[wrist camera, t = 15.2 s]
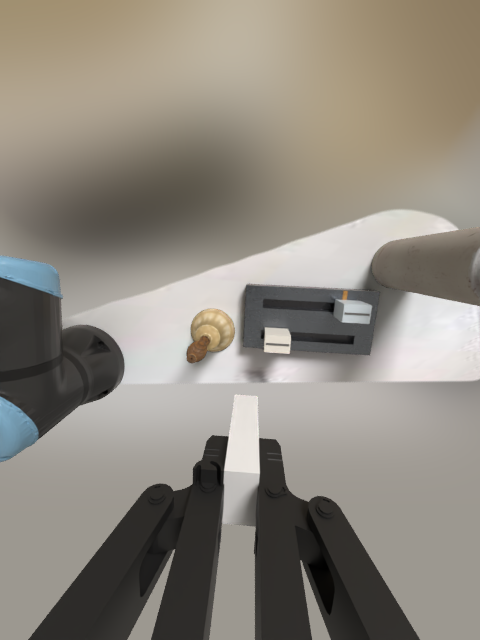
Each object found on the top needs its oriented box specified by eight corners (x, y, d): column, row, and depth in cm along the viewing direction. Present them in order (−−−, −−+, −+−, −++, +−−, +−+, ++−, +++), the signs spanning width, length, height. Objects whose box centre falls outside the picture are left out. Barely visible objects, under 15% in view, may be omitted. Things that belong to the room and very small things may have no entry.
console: (244, 342, 50) (243, 347, 48) (247, 283, 48) (246, 285, 45) (364, 350, 49) (370, 355, 46) (373, 290, 46) (380, 291, 44)
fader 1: (263, 340, 48) (264, 352, 42) (264, 325, 48) (265, 335, 41) (285, 341, 48) (289, 353, 42) (287, 326, 48) (291, 336, 41)
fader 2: (331, 314, 47) (342, 322, 40) (332, 298, 46) (344, 304, 40) (354, 315, 46) (369, 324, 40) (356, 299, 46) (372, 305, 39)
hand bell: (186, 312, 50) (152, 335, 34) (229, 304, 49) (215, 324, 33) (196, 354, 52) (168, 394, 36) (238, 347, 51) (228, 385, 35)
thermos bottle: (403, 229, 44) (634, 177, 17) (430, 267, 45) (691, 276, 18) (361, 261, 46) (512, 260, 18) (388, 297, 47) (569, 348, 19)
